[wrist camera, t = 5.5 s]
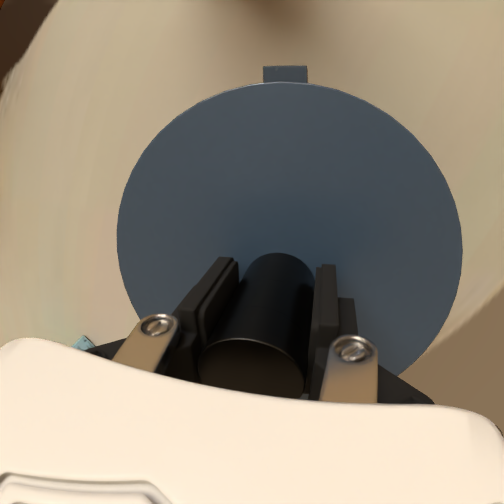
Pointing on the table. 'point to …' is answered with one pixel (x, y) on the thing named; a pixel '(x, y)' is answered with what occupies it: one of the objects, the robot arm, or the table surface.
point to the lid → (291, 228)
